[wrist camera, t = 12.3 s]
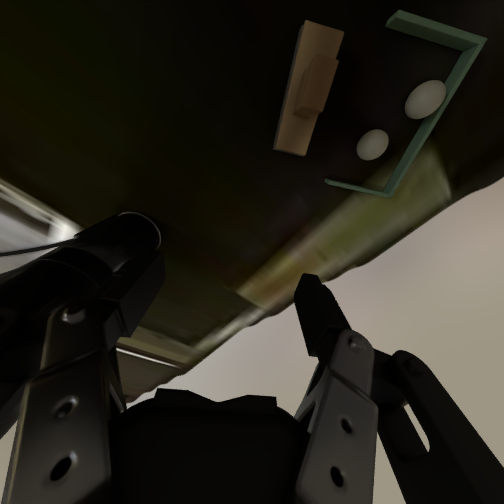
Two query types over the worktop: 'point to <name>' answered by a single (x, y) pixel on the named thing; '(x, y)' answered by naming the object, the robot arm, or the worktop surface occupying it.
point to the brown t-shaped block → (307, 86)
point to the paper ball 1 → (372, 144)
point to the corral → (470, 49)
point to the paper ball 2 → (425, 99)
